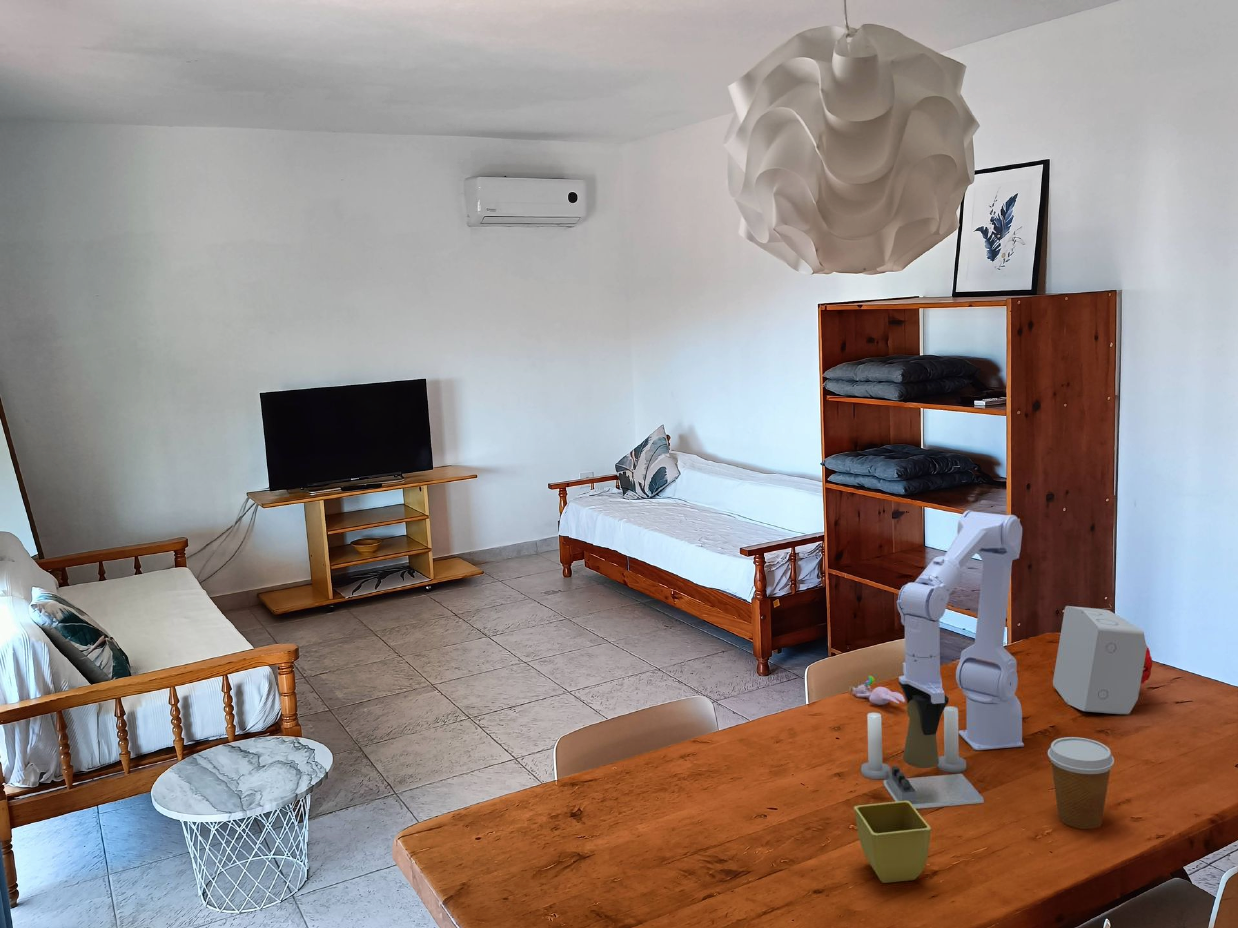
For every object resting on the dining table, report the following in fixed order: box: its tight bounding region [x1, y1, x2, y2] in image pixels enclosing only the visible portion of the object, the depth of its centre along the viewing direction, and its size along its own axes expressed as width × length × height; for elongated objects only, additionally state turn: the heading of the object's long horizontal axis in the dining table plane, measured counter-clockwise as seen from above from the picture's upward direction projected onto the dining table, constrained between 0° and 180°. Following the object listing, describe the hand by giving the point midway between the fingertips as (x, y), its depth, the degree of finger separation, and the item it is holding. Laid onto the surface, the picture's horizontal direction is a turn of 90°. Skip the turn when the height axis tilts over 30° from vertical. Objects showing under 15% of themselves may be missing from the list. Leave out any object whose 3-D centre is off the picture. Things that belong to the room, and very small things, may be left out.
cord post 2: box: [936, 705, 967, 774], centre depth 175 cm, size 5×5×11 cm
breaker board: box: [883, 765, 984, 810], centre depth 166 cm, size 14×9×4 cm, turn 93°
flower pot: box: [853, 801, 932, 884], centre depth 144 cm, size 9×9×9 cm
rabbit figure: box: [848, 675, 906, 706], centre depth 206 cm, size 6×6×15 cm
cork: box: [902, 699, 939, 769], centre depth 169 cm, size 6×6×11 cm
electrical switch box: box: [1052, 605, 1153, 715], centre depth 198 cm, size 15×15×20 cm
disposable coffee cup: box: [1047, 736, 1115, 830], centre depth 155 cm, size 10×10×12 cm
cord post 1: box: [860, 712, 891, 781], centre depth 174 cm, size 5×5×11 cm
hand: (923, 727), depth 169 cm, fingers closed on cork, 5 cm apart
